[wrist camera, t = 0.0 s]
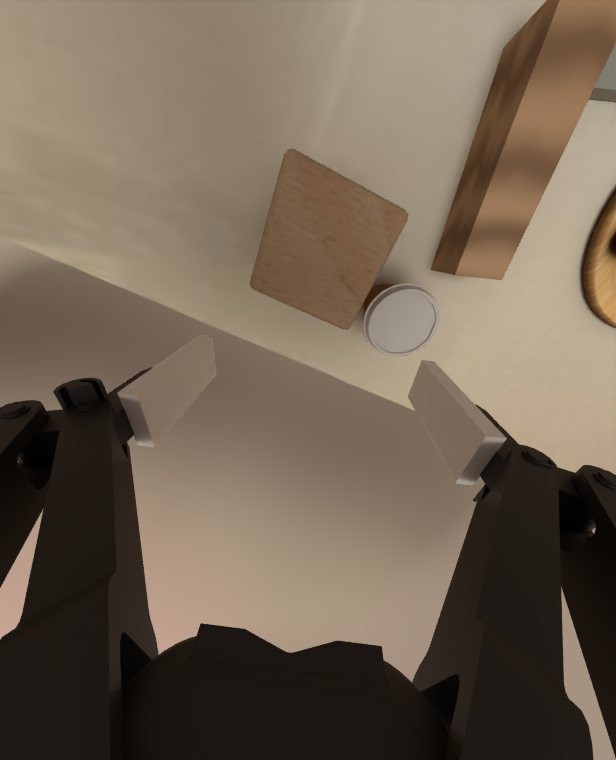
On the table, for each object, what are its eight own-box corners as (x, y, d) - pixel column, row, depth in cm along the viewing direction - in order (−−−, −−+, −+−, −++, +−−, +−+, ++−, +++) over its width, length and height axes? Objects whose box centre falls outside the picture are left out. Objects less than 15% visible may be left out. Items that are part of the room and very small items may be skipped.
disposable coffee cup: (380, 341, 43) (398, 372, 32) (342, 307, 40) (348, 329, 30) (424, 300, 39) (460, 320, 28) (385, 260, 36) (409, 265, 26)
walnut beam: (502, 49, 25) (569, -25, 18) (557, 55, 25) (644, -17, 18) (430, 269, 36) (454, 275, 30) (468, 273, 36) (501, 280, 29)
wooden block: (306, 197, 33) (285, 142, 15) (368, 229, 34) (413, 212, 17) (283, 269, 38) (247, 288, 20) (338, 294, 39) (348, 333, 22)
